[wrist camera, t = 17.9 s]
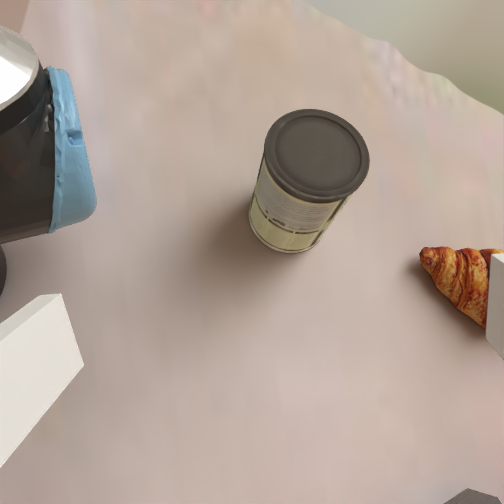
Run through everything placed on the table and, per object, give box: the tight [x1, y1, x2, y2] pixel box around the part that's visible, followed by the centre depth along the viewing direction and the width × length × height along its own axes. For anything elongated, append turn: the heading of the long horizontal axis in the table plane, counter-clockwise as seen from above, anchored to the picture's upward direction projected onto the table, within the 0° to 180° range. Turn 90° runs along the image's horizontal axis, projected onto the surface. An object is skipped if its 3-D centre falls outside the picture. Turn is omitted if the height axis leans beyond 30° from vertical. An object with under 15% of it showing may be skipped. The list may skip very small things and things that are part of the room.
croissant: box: [419, 246, 504, 329], centre depth 47 cm, size 21×10×8 cm
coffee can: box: [249, 109, 370, 253], centre depth 44 cm, size 10×10×14 cm
